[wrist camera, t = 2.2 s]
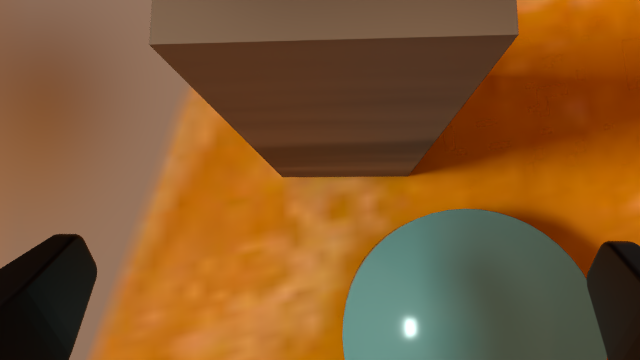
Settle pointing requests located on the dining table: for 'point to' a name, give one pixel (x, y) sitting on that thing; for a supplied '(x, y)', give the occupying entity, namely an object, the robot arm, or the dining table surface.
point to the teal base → (469, 294)
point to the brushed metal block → (335, 73)
